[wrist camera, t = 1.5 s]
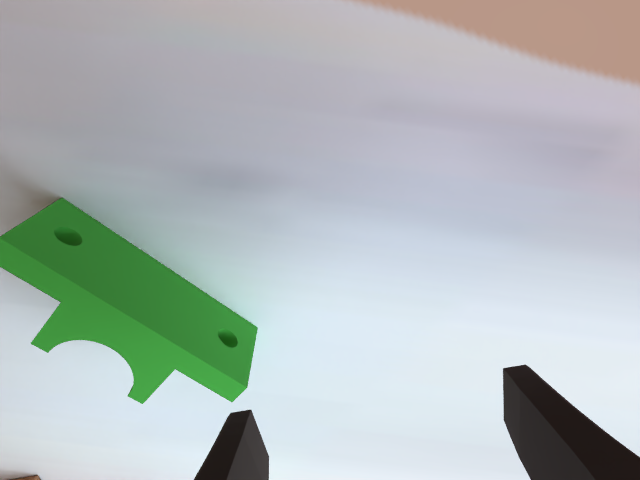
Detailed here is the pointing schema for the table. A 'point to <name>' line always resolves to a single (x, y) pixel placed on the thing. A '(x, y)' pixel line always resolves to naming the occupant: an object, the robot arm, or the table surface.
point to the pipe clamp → (127, 303)
